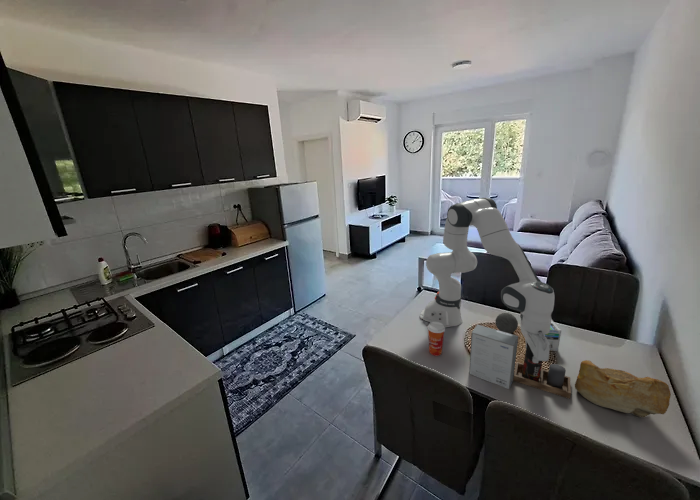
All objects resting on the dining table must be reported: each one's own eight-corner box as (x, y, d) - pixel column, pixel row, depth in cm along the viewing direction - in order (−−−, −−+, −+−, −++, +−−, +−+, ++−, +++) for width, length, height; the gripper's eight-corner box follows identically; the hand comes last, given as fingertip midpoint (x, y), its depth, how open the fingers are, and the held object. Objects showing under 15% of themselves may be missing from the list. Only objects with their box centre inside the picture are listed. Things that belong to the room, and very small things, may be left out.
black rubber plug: (546, 387, 112) (549, 370, 109) (546, 379, 116) (549, 362, 113) (562, 392, 109) (565, 374, 107) (562, 383, 113) (565, 366, 111)
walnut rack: (513, 381, 116) (513, 375, 115) (515, 367, 124) (516, 361, 123) (569, 400, 106) (570, 393, 105) (568, 383, 114) (570, 377, 113)
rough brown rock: (662, 406, 103) (671, 368, 99) (663, 434, 91) (674, 392, 88) (579, 376, 119) (585, 343, 116) (571, 398, 107) (577, 361, 104)
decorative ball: (498, 324, 155) (500, 307, 152) (519, 330, 148) (521, 313, 145) (491, 332, 149) (493, 314, 146) (512, 339, 142) (515, 321, 139)
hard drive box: (514, 379, 118) (519, 336, 112) (509, 390, 112) (514, 346, 106) (474, 363, 127) (477, 323, 121) (467, 373, 122) (471, 332, 116)
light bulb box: (558, 351, 132) (562, 330, 129) (541, 350, 133) (545, 329, 130) (548, 337, 142) (551, 317, 139) (532, 336, 143) (535, 317, 140)
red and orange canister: (423, 352, 136) (424, 326, 132) (431, 344, 142) (432, 319, 137) (439, 359, 131) (440, 332, 127) (447, 351, 136) (448, 324, 132)
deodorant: (529, 369, 121) (535, 339, 116) (542, 380, 115) (549, 348, 110) (518, 373, 119) (523, 343, 114) (530, 384, 114) (536, 352, 109)
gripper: (557, 341, 99) (551, 375, 103) (536, 311, 118) (532, 341, 122) (536, 339, 101) (531, 373, 105) (519, 310, 120) (515, 339, 124)
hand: (531, 355), depth 114 cm, fingers open, 6 cm apart
